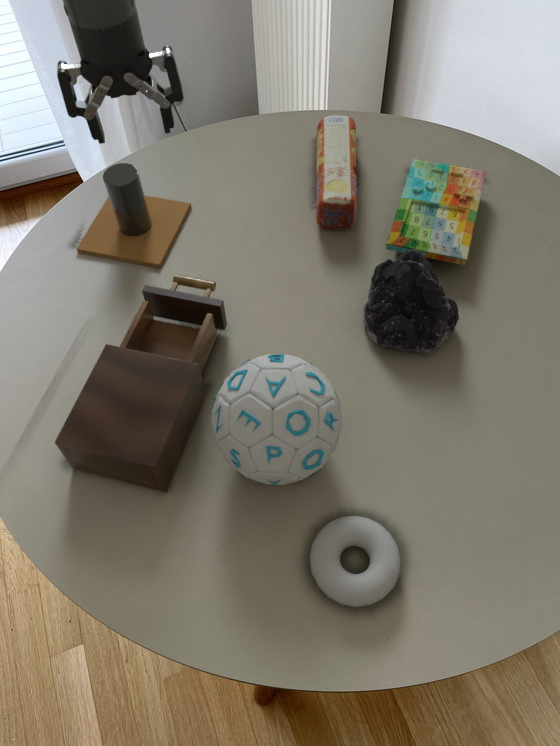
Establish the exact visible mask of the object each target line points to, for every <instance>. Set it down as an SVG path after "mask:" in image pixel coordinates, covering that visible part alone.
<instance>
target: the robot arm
mask: <svg viewBox="0 0 560 746" xmlns="http://www.w3.org/2000/svg"><path fill="white" fill-rule="evenodd" d="M62 3H63V5H62V6H63V9H64V12H65V15H66V17H67V19H68V21H69V26H70V28H71V32H72V35H73V39H74V42H75V45H76V48H77V51H78V55H79V58H80V61H79V63H67V61H65V60H62V59H61V60H59V61H58V62H57V65H56V69H57V70H56V78H57V80H58V85H59V88H60V92H61V95H62V98H63V102H64V106H65V109H66V113H67V116H68V117H70V118H77V117H81V118H83V119H85V121H86V123H87V126H88V129H89V132H90V136H91V138H92V139H93V140H94V141H98V144H106V137H105V130H104V128H103V124H102V121H101V119H100V115H99V112H98V109H99V108H101V105H102V104H103V103H104V100H105V98H106V96H107V97H110V99H116V98H117V99H118V98H119V97H123V96H129V97H132V96H137V93H139V92H140V93H141V94H142V95H143V96H144V97H146V98H147V99H148V100H150V101H151V100H152V101H153V102H154V103H156V104H157V105H158V106H159V111H160V112H159V113H160V117H161V121H162V125H163V129H164V133H165V134H171V129H174V128H175V120H174V114H173V109H172V105H173V104H174V103H176V102H177V103H181V102H183V101H184V99H185V98H184V97H185V96H184V91H183V86H182V82H181V81H182V80H181V78H180V74H179V73H180V72H179V70H178V66H177V62H176V57H175V53H174V50H173V47H172V46H170V45H167V44H166V45H164V46H163V47H162V50H161V51H155V52H150V51H149V50H148V49H147V47H146V45H145V40H144V36H143V32H142V27H141V23H140V18H139V14H138V9H137V4H136V0H62ZM153 66H157V67H158V68H159V70H160V71H161V72H163V73H166V74H167V78H168V82H169V85H170V87H168V88H165V87H164V86H163V85H162V84H161V83H159V82H158V80H157V79H156V78H155V76H153V75H152V74H151V71H152V69H153ZM80 76H81V77H82V78H83V79H84V80H85V81H87V83H89V84H90V86H89V89H88V92H87V94H86V97H85V99H84V101H82V100H78V98H77V93H76V90H75V87H74V86H75V85H77V84H78V78H79V77H80Z"/></svg>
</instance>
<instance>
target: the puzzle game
mask: <svg viewBox="0 0 560 746" xmlns="http://www.w3.org/2000/svg"><path fill="white" fill-rule="evenodd" d="M486 175H487V170H481V169H475V168H471V167H470V168H469V167H463V166H457V165H453V164H452V165H451V164H447V163H442V162H441V163H440V162H434V161H429V160H422V159H417V158H413V159H412V162H411V165H410V168H409V171H408V175H407V177H406V181H405V184H404V187H403V190H402V193H401V196H400V199H399V203H398V206H397V209H396V212H395V216H394V219H393V222H392V224H391V228H390V231H389V234H388V238H387V240H386V243H385V250H387V251H391V252H396V253H401V254H402V253H404V252H405V251H407V250H410V249H414V250H417V251H419V252H420V253H421V254H422V255H423V256H424V257H425V258H426V259H431V260H437V261H440V262H441V261H442V262H447V263H451V264H457V265H461V266H466V265H467V261H468V258H469V253H470V248H471V244H472V239H473V234H474V230H475V226H476V220H477V217H478V212H479V207H480V202H481V199H482V194H483V189H484V184H485V180H486Z"/></svg>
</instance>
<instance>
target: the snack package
mask: <svg viewBox="0 0 560 746" xmlns="http://www.w3.org/2000/svg"><path fill="white" fill-rule="evenodd" d="M356 135H357V125H356V122H355V120H354V119H353V118H352V117H350V116H348V115H347V116H346V115H336V114H335V115H333V114H332V115H328V116H325V117H323V118H321V119H320V121H319V122H318V124H317V126H316V145H317V146H316V159H315V160H316V161H315V162H316V164H315V165H316V166H315V167H316V168H315V169H316V194H315V195H316V200H315V201H316V205H315V206H316V207H315V214H316V215H315V216H316V219H315V220H316V224H317V226H318V227H319V228H321V229H323V230H331V231H332V230H334V231H335V230H346V229H350V227H352V226H353V225H354V223H355V221H356V219H357V210H358V209H357V208H358V197H357V190H358V189H357V152H356V149H357V147H356V144H357V143H356Z"/></svg>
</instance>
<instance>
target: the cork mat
mask: <svg viewBox="0 0 560 746" xmlns="http://www.w3.org/2000/svg"><path fill="white" fill-rule="evenodd" d="M145 199H146V203H147V207H148V210H149V214H150V218H151V222H152V224H151V227H150V229H149V230H148V231H147V232H146V233H144V234H142V235H139V236H127V235H124V234H123V233H122V232H121V231H120V229H119V226H118V223H117V220H116V217H115V214H114V211H113V208H112V205H111V202H110V199H109V196H107V198H106V200H105V201H104V203H103V205H102V207H101V208H100V209H99V211H98V212H97V215H96V216H95V217H94V219H93V221H92V223H91V224H90V226H89V227H88V229H87V231H86V232H85V233H84V235H83V238H82V239H81V241H80V242H79V244H78V246H77V247H76V252H77V253H79V254H84V255H90V256H96V257H101V258H105V259H106V258H107V259H111V260H117V261H121V262H125V263H126V262H128V263H132V264H138V265H143V266H149V267H153V268H159V269H161V268H162V266H163V264H164V262H165V260H166V258H167V256H168V254H169V252H170V250H171V248H172V246H173V244H174V243H175V240H176V238H177V236H178V234H179V232H180V230H181V228H182V226H183V225H184V222H185V220H186V218H187V217H188V215H189V212H190V210H191V208H192V203H191V202H187V201H180V200H174V199H169V198H162V197H156V196H150V195H145Z"/></svg>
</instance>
